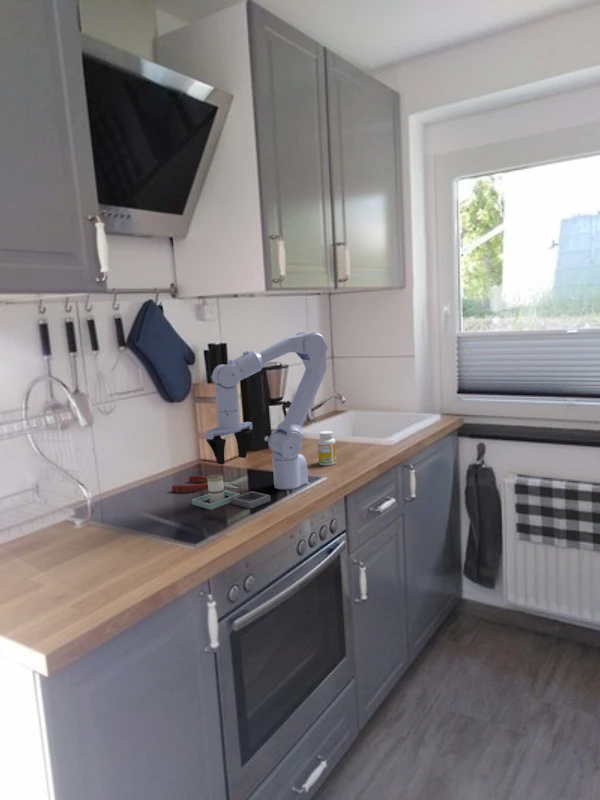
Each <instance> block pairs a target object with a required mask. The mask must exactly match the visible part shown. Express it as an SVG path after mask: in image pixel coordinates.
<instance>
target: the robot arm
mask: <svg viewBox="0 0 600 800" xmlns="http://www.w3.org/2000/svg"><path fill="white" fill-rule="evenodd" d="M328 348H329V345H328V342H327V341H326V338H325V337H324V336H323V334H321V333H319V332H305V331H300V332H297V333H296V334H292V335H289V336H287V337H285V338H283V339H281V340H279V341H278V342H276V343H274V344H272V345H270V346H268V347H266V348H265V349H263V350H260V351H259V352H256V351H254V350H251V351H248V350H245V351H243V352H242V355H240V356H238V357H236V358H235V359H228V360H226V361H227V364H219V365H217V366H216V367H215V368H214V369H213V372H212V374H211V376H210V377H211V380H212V382H213V383H214V384H215V401H216V413H217V426H216V427H214V428H213V429H210V430H209V429H208V430H207V431H205V432H204V433H205V440H206V443H207V444H208V446H209V447H210V448H211V450H212V452H213V454H214V457H215V460H216V464H218V465H222V466H223V465H225V463H226V462H225V461H226V460H225V459H226V458H225V447H226V442H227V439H225V438H222V437H224V436H227V435H231V434H234V437H235V440H236V444H237V445H236V446H237V452H238V458H242V459H245V458H247V453H248V448H249V443H250V442H251V439H252V436H253V435H254V432H253V422H251V421H246V422H245V421H244V422H241V421H240V408H239V407H240V405H239V394H238V384H239V383H240V381H243V380H244V379H246V378H249V377H251V376H252V375H254V374H256V373H258V372H261V371H262V369H263V367H264V365H265V364H267V363H268V362H271V361H274V360H276V359H278V358H280V357H282V356H285V355H286V354H289V353H293V354H294V353H295V354H296V355H297V357H299V358H300V359H301V361H302V363H303V365H304V369H305V371H304V372H303V375H302V378H301V379H300V382H299V384H298V386H297V388H296V392H295V393H294V396H293V398H292V400H291V403H290V405H289V407H288V410H287V413H286V415H285V417H284V419H283V420H282V421H281V422H280V423H278V425H277V427H276V429H275V430H274V432H272V433H271V434H270V436H269V438H268V441H267V443H268V447H269V449H270V450H271V451H272V455H271V456H272V458H271V459H272V471H273V472H272V473H273V485H274V488H275V489H277V490H292V489H298V488H299V487H300V486H301V485H305V484H309V485H310V484H311V483H310V482H309V475H308V474H309V473H308V462H307V460H306V458H305V456H304V455H303V454H301V451H302V440H303V438H304V433H303V425H304V423H305V420H306V418H307V416H308V414H309V412H310V409H311V407H312V404H313V402H314V400H315V398H316V395H317V393H318V391H319V388H320V386H321V384H322V381H323V378H324V377H325V375H326V372H327V368H328V367H327V365H328V363H327V351H328Z"/></svg>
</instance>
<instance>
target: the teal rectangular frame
mask: <svg viewBox="0 0 600 800" xmlns="http://www.w3.org/2000/svg"><path fill="white" fill-rule="evenodd" d="M239 495H242V494H241V493H238V492H235V491H230V490H226V489H224V496H225V497H226V498H225V499H223V500H220V501H217V502H214V503H212V504H211V503H210V502H209V503H208V502H205V501H207V500H209V493H206V494H204V495H202V496H198V497H194V498H192V499H191V505H194V506H195V507H196V506H197V507H200V508H203V509H206V510H207V509H208V510H214V509H216V508H219V507H221V506H224V505H228V504H231V503H232V498H234V497H237V496H239Z"/></svg>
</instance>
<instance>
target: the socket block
mask: <svg viewBox="0 0 600 800" xmlns="http://www.w3.org/2000/svg"><path fill="white" fill-rule="evenodd" d="M269 502H271V495H270V494H265V493H262V492H257V491H253V490H251V491H248V492H246V493H242V494H241V495H239V496H237V497H234V498H232V502H231V504H233V505H237V506H240V507H242V508H243V507H244V508H246V509H247V508H248V509H253V508H256V507H259V506H261V505H264V504H266V503H269Z"/></svg>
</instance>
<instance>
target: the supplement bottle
mask: <svg viewBox="0 0 600 800" xmlns="http://www.w3.org/2000/svg"><path fill="white" fill-rule="evenodd" d="M318 435H319V439H317V450H318V451H317V452H318V464H319V465H320V466H333V465H335V464H337V448H336V446H337V445H336V443H337V442H336V439H335V438H333V437H334V432H333V431H332V430H322V431H319V434H318Z"/></svg>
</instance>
